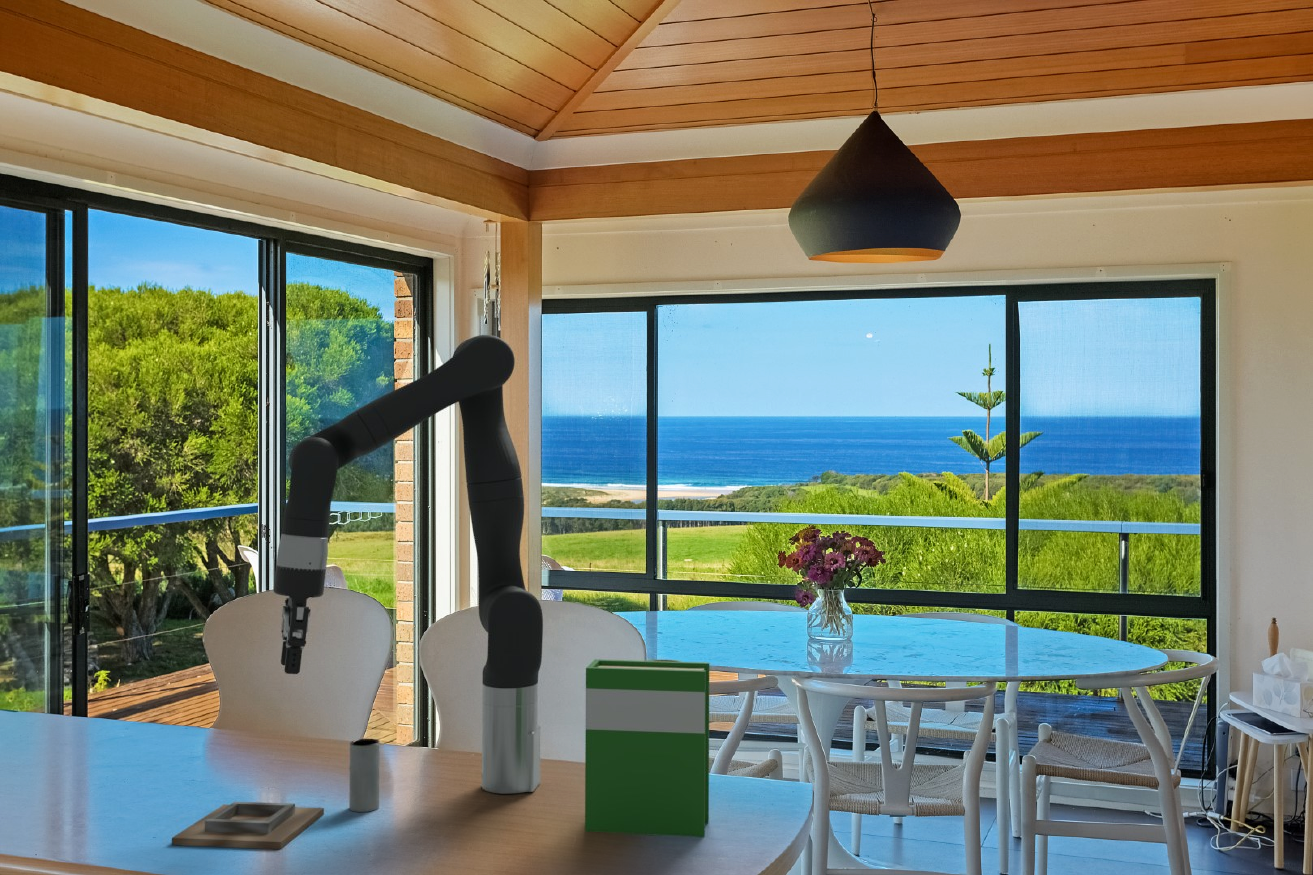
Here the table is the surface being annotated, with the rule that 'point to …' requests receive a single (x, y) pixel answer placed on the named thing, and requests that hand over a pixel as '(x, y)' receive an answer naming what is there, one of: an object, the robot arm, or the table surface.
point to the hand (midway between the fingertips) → (289, 669)
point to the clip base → (249, 826)
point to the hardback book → (647, 747)
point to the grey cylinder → (364, 775)
